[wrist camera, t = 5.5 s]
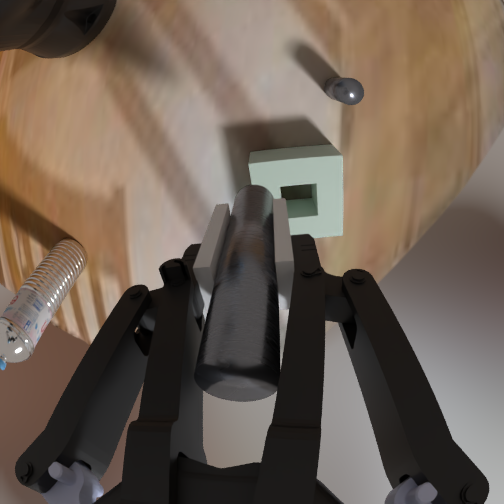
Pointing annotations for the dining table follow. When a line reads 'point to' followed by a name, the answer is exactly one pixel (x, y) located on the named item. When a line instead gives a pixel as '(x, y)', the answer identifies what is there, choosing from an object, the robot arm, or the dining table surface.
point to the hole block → (305, 172)
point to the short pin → (344, 90)
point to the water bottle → (39, 300)
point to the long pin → (243, 307)
